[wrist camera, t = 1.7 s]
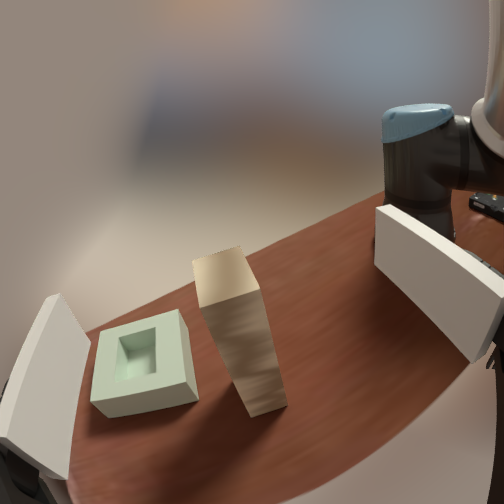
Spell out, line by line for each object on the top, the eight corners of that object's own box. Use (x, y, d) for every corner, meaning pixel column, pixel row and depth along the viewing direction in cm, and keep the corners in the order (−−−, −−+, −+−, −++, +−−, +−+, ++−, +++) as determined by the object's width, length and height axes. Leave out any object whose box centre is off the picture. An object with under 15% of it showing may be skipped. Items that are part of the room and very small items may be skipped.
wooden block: (270, 364, 32) (239, 245, 24) (288, 405, 27) (260, 288, 19) (237, 374, 32) (191, 260, 23) (250, 417, 26) (199, 307, 18)
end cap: (187, 329, 39) (178, 308, 37) (199, 400, 29) (186, 381, 27) (113, 349, 38) (100, 331, 36) (108, 418, 28) (90, 401, 26)
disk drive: (504, 225, 43) (519, 205, 48) (506, 213, 42) (521, 195, 46) (467, 208, 52) (487, 191, 56) (468, 197, 50) (489, 181, 54)
